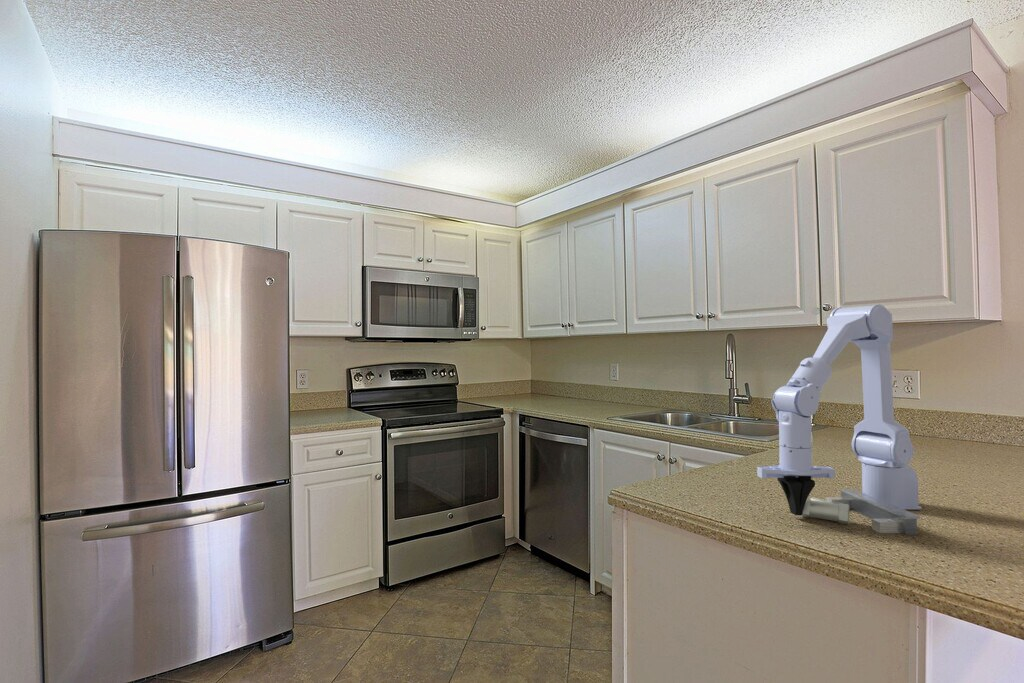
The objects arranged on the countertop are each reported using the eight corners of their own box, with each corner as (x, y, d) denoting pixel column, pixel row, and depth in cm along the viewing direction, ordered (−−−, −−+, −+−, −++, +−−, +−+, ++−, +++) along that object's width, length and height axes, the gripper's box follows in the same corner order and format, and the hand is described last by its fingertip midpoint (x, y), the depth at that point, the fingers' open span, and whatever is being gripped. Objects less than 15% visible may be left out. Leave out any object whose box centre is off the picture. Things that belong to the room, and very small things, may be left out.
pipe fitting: (805, 512, 105) (800, 518, 100) (805, 493, 106) (800, 498, 100) (850, 519, 100) (848, 526, 95) (850, 500, 101) (848, 505, 95)
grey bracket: (853, 504, 109) (852, 488, 109) (920, 535, 91) (919, 515, 91) (822, 504, 109) (822, 488, 109) (884, 535, 91) (883, 516, 91)
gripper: (819, 442, 104) (820, 507, 104) (749, 442, 104) (750, 507, 104) (841, 448, 97) (842, 518, 97) (766, 449, 97) (767, 518, 97)
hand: (796, 513), depth 100 cm, fingers closed
